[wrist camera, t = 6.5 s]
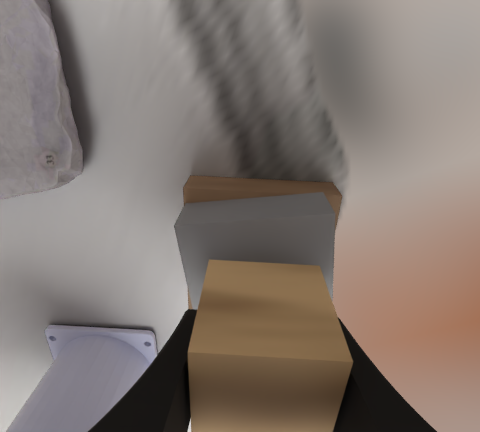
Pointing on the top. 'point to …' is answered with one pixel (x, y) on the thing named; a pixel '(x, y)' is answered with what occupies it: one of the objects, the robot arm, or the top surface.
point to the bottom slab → (254, 191)
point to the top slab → (256, 234)
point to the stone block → (34, 103)
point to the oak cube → (266, 350)
